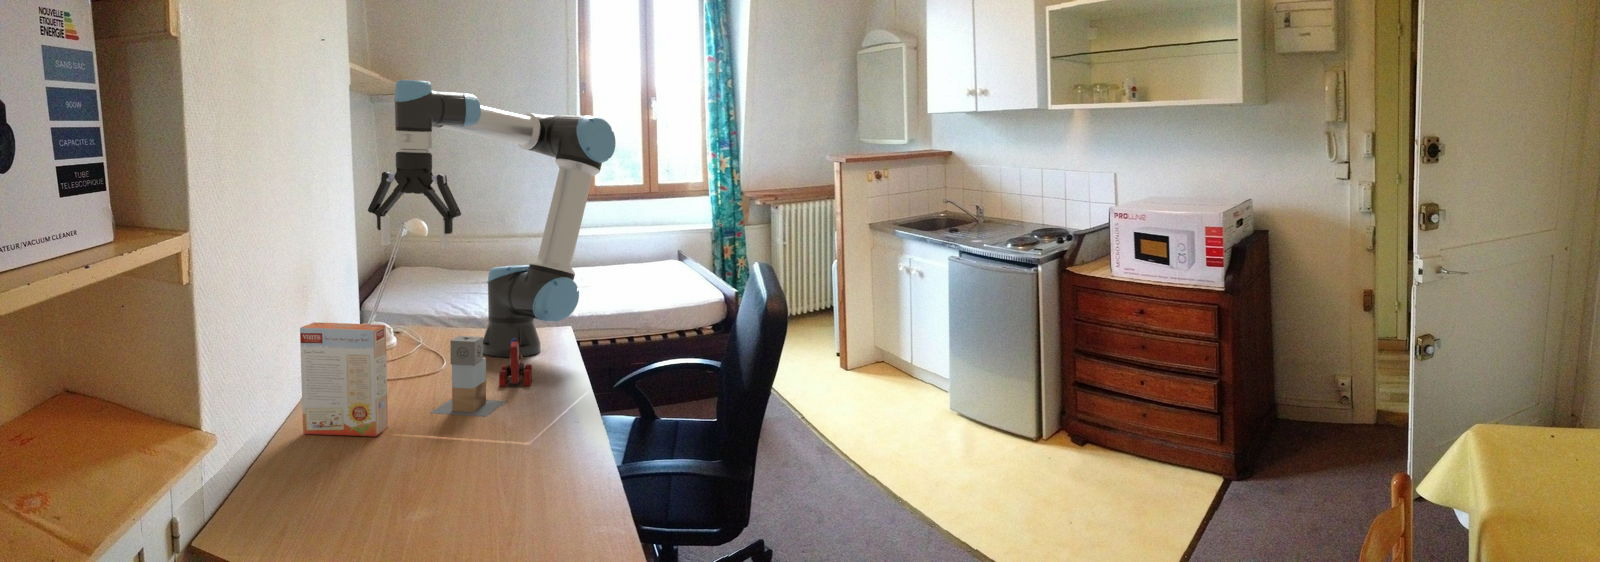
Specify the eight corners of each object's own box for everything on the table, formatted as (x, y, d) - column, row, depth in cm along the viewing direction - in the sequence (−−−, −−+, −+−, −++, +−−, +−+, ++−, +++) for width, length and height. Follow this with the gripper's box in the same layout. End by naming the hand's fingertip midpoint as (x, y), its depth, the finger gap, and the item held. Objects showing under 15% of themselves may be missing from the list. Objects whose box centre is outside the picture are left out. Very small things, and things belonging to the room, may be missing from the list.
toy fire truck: (532, 377, 235) (532, 335, 234) (529, 391, 223) (530, 346, 222) (502, 377, 234) (502, 335, 232) (498, 391, 222) (498, 346, 220)
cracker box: (389, 428, 191) (387, 323, 188) (375, 438, 185) (373, 329, 182) (317, 425, 191) (314, 320, 188) (301, 434, 185) (298, 326, 182)
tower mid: (465, 379, 210) (465, 356, 209) (486, 380, 210) (485, 357, 209) (452, 387, 203) (451, 363, 202) (472, 388, 203) (472, 365, 202)
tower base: (466, 401, 211) (465, 379, 210) (486, 403, 210) (485, 380, 210) (452, 410, 204) (452, 387, 203) (472, 412, 203) (472, 388, 203)
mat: (453, 399, 213) (453, 397, 213) (507, 403, 213) (507, 401, 212) (429, 414, 201) (429, 412, 201) (486, 418, 201) (486, 416, 201)
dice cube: (482, 360, 207) (482, 336, 206) (474, 365, 202) (474, 341, 201) (459, 359, 207) (459, 335, 206) (450, 364, 202) (450, 340, 201)
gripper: (350, 148, 213) (352, 245, 216) (461, 154, 212) (462, 251, 215) (367, 148, 221) (369, 242, 224) (475, 153, 219) (476, 247, 222)
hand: (415, 246), depth 219 cm, fingers open, 13 cm apart
